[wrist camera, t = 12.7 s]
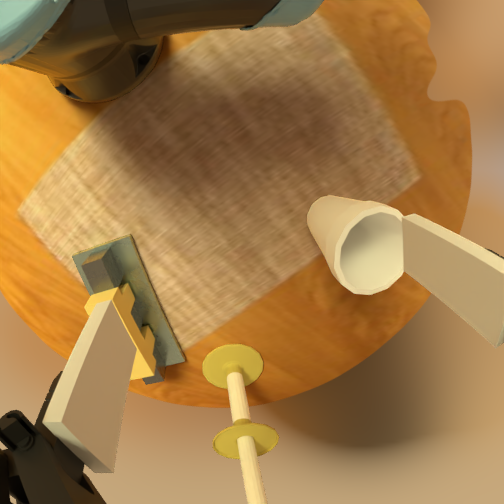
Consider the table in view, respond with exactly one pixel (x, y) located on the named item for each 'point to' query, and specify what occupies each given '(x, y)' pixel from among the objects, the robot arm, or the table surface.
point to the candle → (241, 413)
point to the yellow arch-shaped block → (129, 328)
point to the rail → (146, 303)
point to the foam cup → (358, 241)
